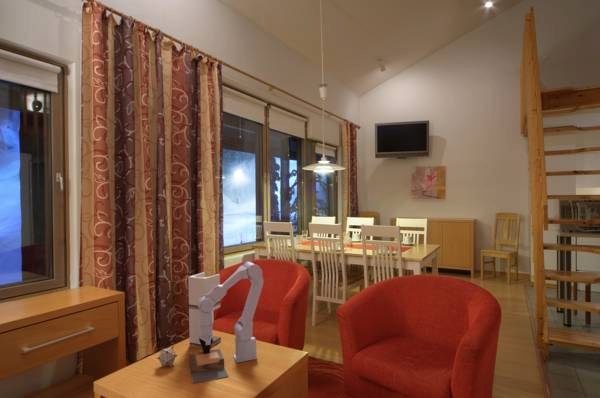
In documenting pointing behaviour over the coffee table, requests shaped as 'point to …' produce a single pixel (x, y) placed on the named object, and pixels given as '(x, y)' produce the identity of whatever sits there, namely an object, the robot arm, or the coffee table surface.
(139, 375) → the coffee table surface
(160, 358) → the grey spiky polyhedron
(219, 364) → the brown flat block
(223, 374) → the mat
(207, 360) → the tan rectangular brick
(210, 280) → the tall white column
